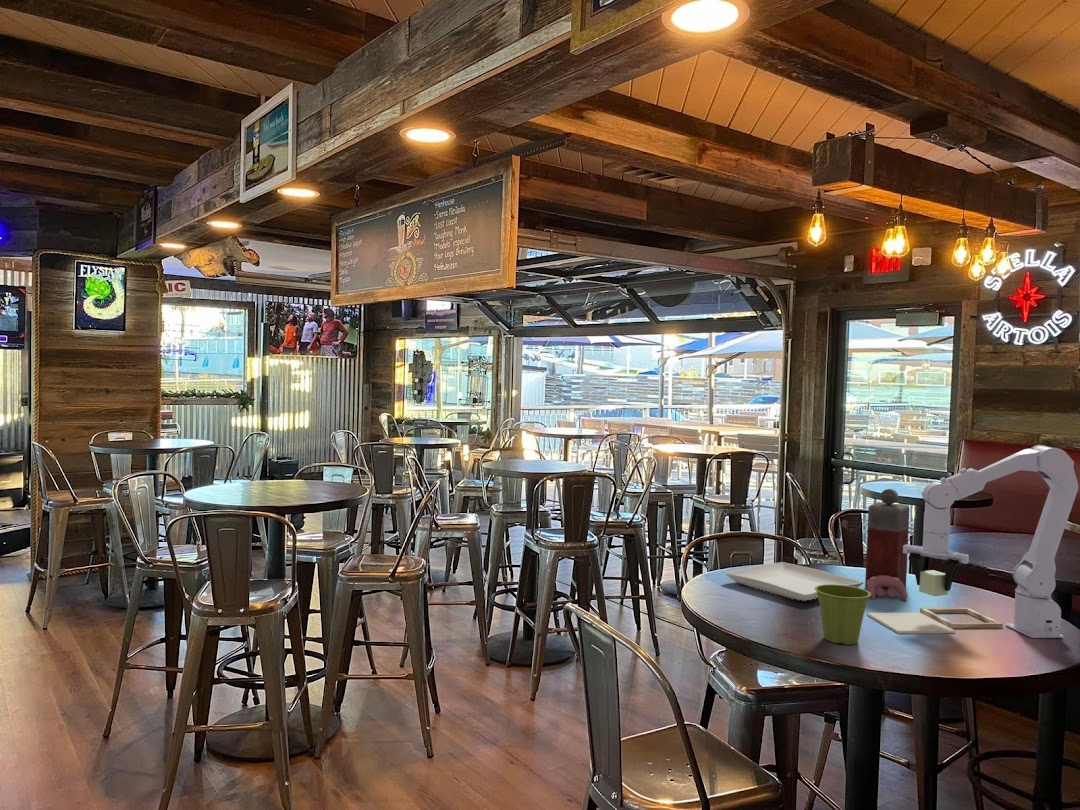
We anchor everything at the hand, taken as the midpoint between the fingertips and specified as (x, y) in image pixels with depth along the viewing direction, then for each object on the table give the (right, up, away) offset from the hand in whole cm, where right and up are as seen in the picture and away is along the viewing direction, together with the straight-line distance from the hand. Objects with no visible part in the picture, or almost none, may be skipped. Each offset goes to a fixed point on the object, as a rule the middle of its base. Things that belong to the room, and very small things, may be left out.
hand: (933, 587), depth 193 cm
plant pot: (-28, -9, -15) cm, 33 cm away
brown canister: (+4, -8, +34) cm, 35 cm away
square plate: (-25, -8, +30) cm, 39 cm away
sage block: (0, -1, 0) cm, 1 cm away
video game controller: (-2, -8, +22) cm, 23 cm away
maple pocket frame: (+8, -9, +3) cm, 12 cm away
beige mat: (-7, -8, -2) cm, 11 cm away
